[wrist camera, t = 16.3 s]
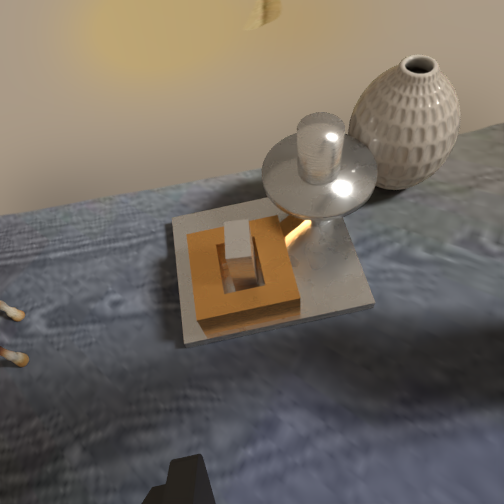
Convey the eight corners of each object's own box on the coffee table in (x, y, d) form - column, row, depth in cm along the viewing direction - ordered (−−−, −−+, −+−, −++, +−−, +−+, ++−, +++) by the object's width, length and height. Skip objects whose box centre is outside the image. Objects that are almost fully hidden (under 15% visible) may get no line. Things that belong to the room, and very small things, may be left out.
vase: (444, 209, 52) (498, 103, 38) (344, 208, 54) (360, 107, 40) (430, 139, 59) (472, 26, 44) (341, 140, 60) (354, 32, 46)
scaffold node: (348, 172, 57) (362, 76, 44) (402, 301, 46) (443, 225, 33) (173, 210, 57) (134, 124, 44) (187, 348, 46) (141, 290, 33)
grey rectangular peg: (257, 266, 49) (248, 218, 40) (260, 299, 47) (251, 256, 38) (237, 268, 49) (223, 221, 41) (239, 301, 47) (225, 259, 38)
